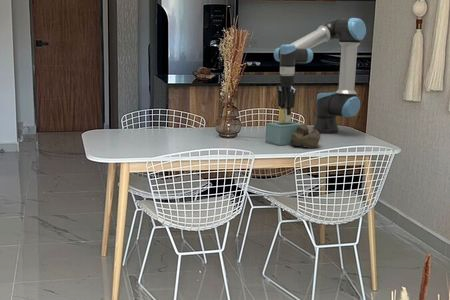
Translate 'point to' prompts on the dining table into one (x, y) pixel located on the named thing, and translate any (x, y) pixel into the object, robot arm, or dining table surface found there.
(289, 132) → the coin box
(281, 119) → the cream small block
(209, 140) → the dining table surface
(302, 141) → the decorative stone
